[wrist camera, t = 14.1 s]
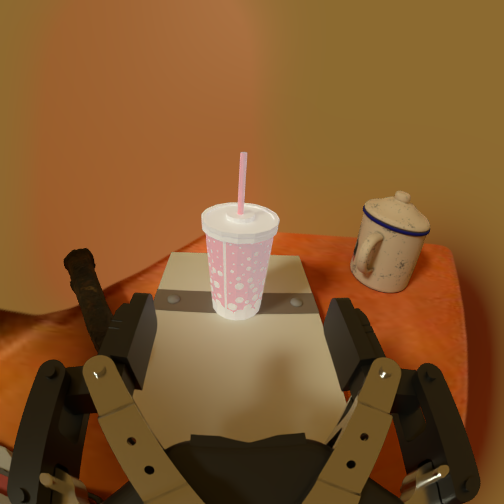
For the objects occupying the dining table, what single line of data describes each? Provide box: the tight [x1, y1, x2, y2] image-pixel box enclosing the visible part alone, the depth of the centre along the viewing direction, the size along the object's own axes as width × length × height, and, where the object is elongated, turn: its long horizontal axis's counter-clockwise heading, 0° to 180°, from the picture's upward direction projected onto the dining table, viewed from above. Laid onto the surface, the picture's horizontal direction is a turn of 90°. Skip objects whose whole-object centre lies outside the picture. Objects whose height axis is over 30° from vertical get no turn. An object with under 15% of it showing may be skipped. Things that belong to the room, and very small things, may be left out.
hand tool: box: [64, 248, 113, 352], centre depth 22 cm, size 19×4×5 cm, turn 38°
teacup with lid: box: [350, 191, 430, 293], centre depth 30 cm, size 12×9×12 cm
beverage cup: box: [202, 152, 279, 320], centre depth 22 cm, size 6×6×14 cm
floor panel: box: [133, 252, 346, 449], centre depth 24 cm, size 16×24×2 cm, turn 3°
